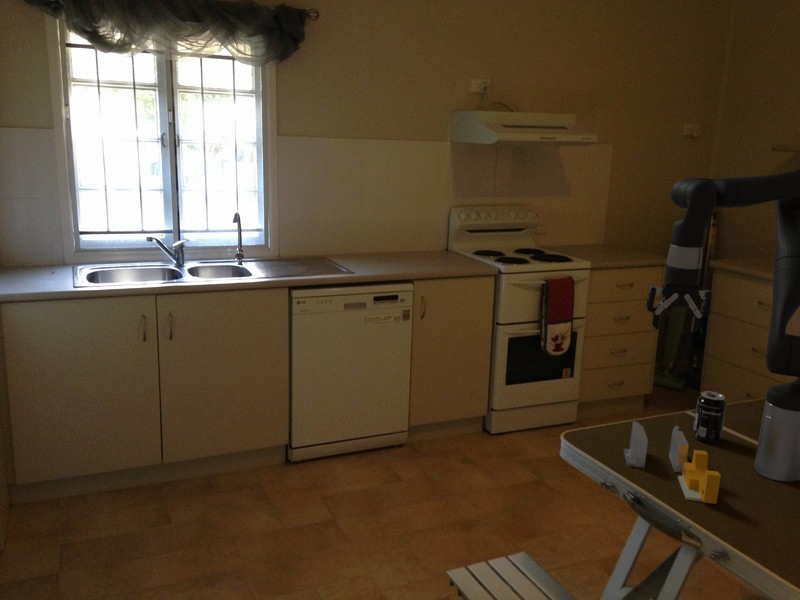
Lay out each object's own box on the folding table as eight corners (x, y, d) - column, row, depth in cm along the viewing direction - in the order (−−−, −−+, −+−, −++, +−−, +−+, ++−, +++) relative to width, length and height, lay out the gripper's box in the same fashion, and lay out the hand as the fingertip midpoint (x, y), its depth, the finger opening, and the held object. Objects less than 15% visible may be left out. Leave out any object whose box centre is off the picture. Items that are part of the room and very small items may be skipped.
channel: (682, 453, 176) (686, 426, 175) (691, 473, 166) (696, 445, 164) (622, 446, 179) (625, 420, 177) (627, 466, 168) (630, 438, 166)
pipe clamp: (681, 475, 164) (685, 449, 162) (701, 477, 163) (705, 451, 161) (694, 501, 152) (699, 473, 150) (716, 503, 151) (720, 475, 150)
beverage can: (701, 431, 190) (707, 388, 187) (725, 440, 185) (732, 396, 182) (686, 437, 186) (693, 393, 183) (711, 446, 181) (718, 402, 178)
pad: (705, 481, 162) (705, 478, 162) (715, 503, 153) (716, 500, 153) (677, 477, 163) (677, 475, 163) (686, 499, 154) (686, 496, 154)
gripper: (654, 265, 167) (646, 332, 170) (719, 269, 164) (709, 337, 168) (650, 259, 174) (641, 323, 178) (712, 263, 171) (702, 329, 175)
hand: (674, 330), depth 173 cm, fingers open, 8 cm apart
